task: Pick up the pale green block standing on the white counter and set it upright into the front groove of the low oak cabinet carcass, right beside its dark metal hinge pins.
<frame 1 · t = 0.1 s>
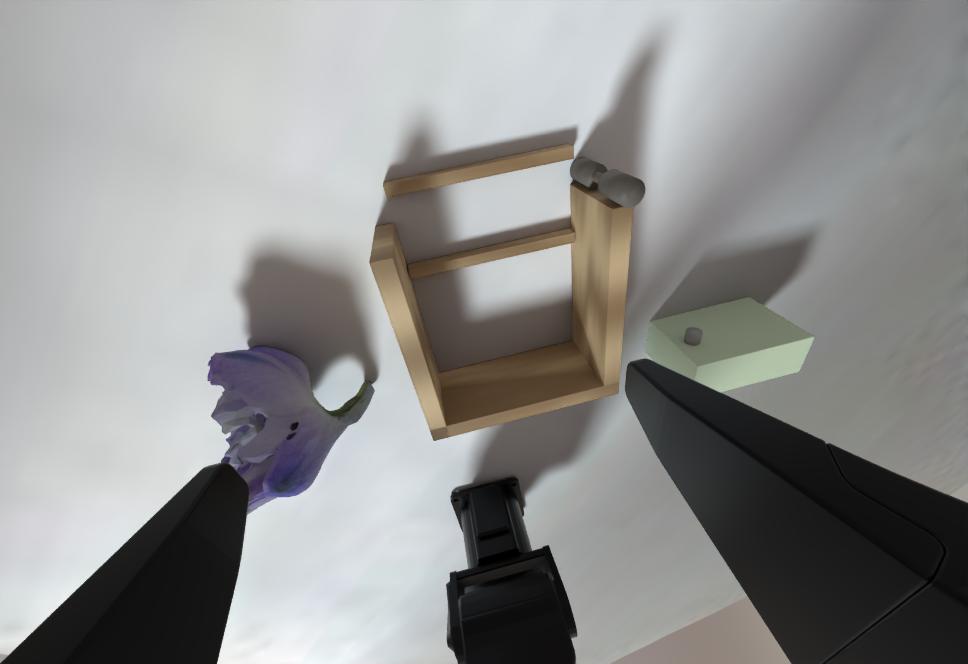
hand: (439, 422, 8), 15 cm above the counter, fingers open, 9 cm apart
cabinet: (484, 212, 21), on the counter
flower: (299, 375, 25), on the counter
pale green block: (695, 324, 29), on the counter
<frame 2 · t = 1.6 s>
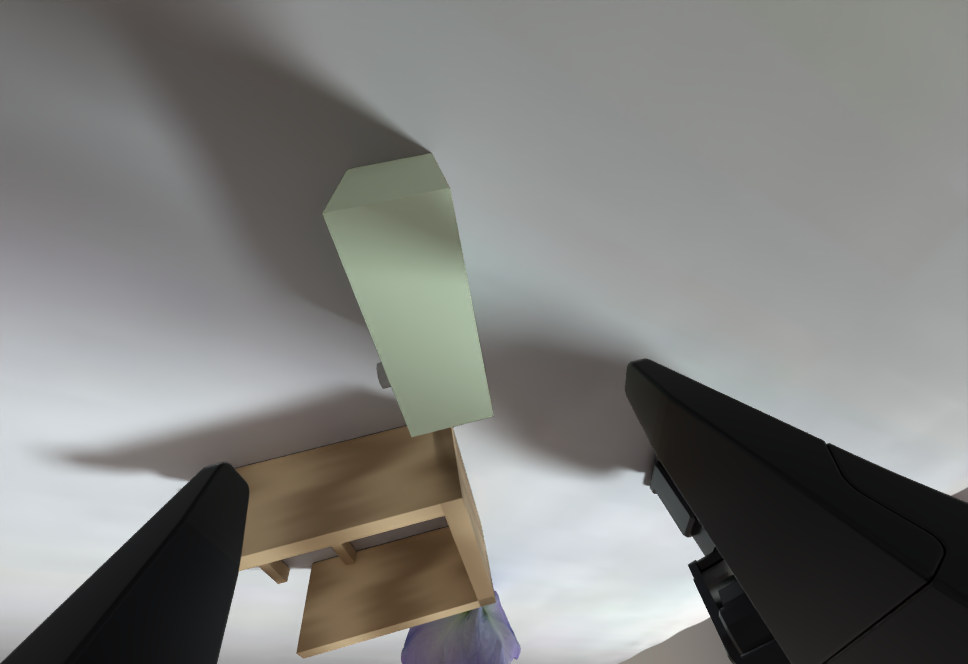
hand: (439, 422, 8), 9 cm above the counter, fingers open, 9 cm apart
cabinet: (287, 525, 23), on the counter
flower: (456, 574, 31), on the counter
pale green block: (417, 263, 15), on the counter
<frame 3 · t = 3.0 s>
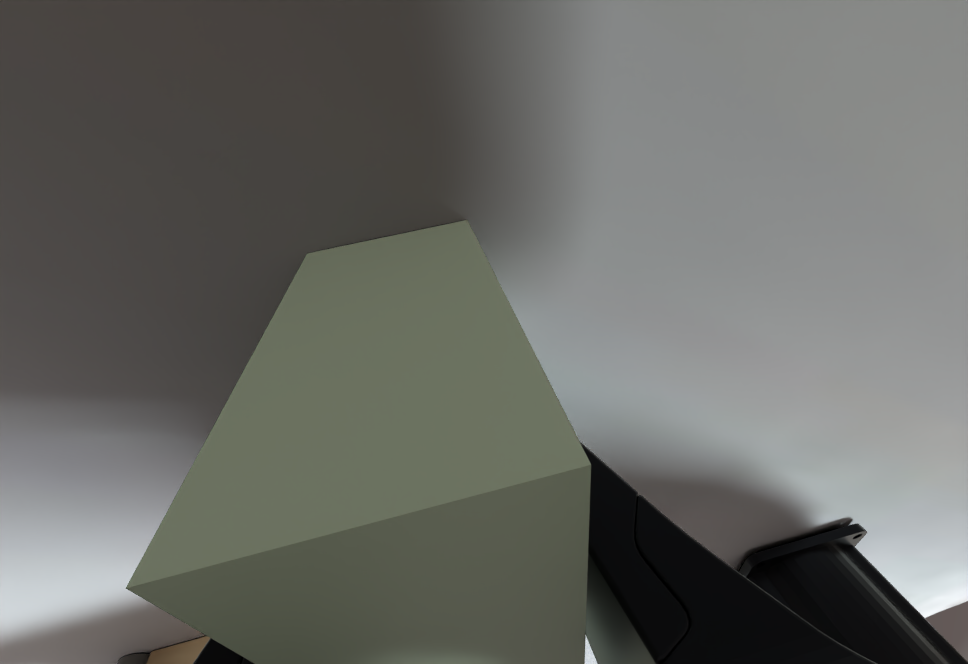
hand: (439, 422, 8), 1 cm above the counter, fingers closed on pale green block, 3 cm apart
pale green block: (435, 390, 9), on the counter, touching gripper
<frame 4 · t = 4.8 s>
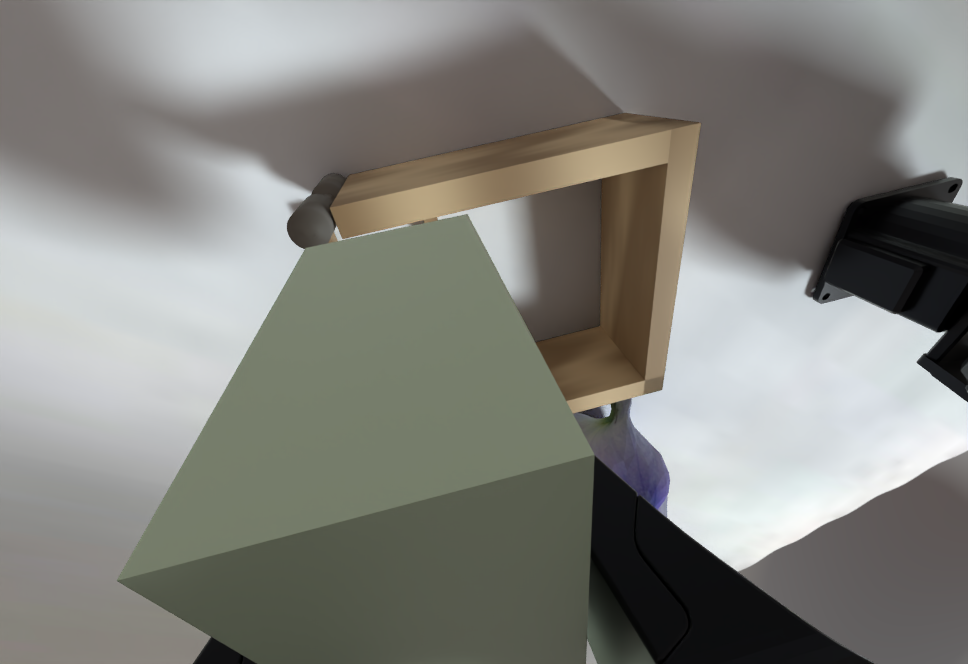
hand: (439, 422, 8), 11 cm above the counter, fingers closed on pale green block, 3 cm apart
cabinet: (403, 296, 19), on the counter
flower: (575, 407, 26), on the counter
pale green block: (435, 387, 9), point 10 cm above the counter, touching gripper
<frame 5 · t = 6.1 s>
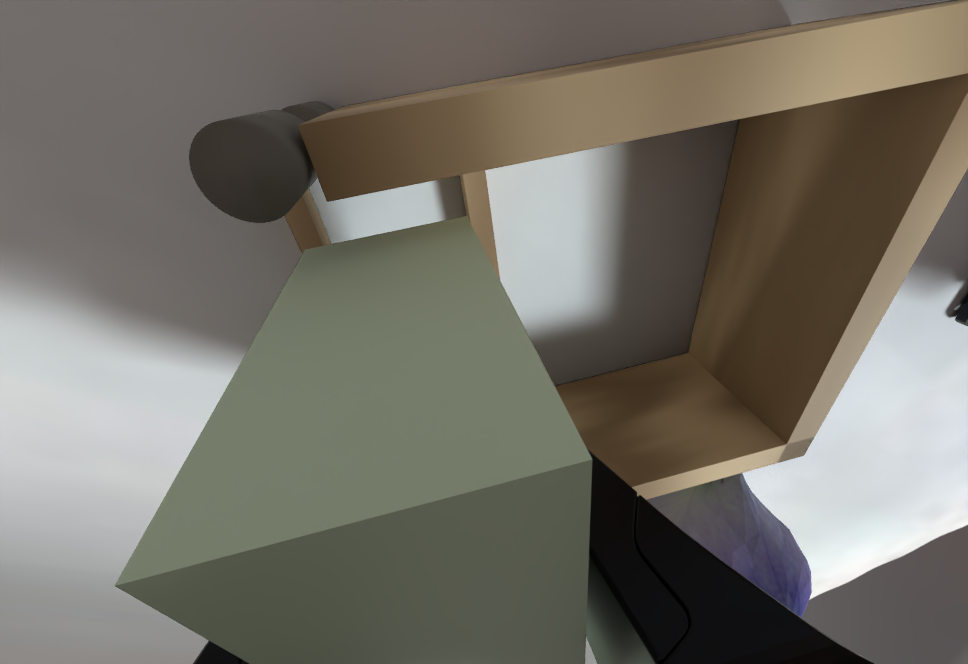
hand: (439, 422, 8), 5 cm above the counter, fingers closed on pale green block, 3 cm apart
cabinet: (422, 310, 12), on the counter
flower: (640, 446, 20), on the counter
pale green block: (435, 388, 9), point 4 cm above the counter, touching gripper
when the fingers open (2 cm above the counter, at t = 6.8 s): pale green block drops 2 cm, resting in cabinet.
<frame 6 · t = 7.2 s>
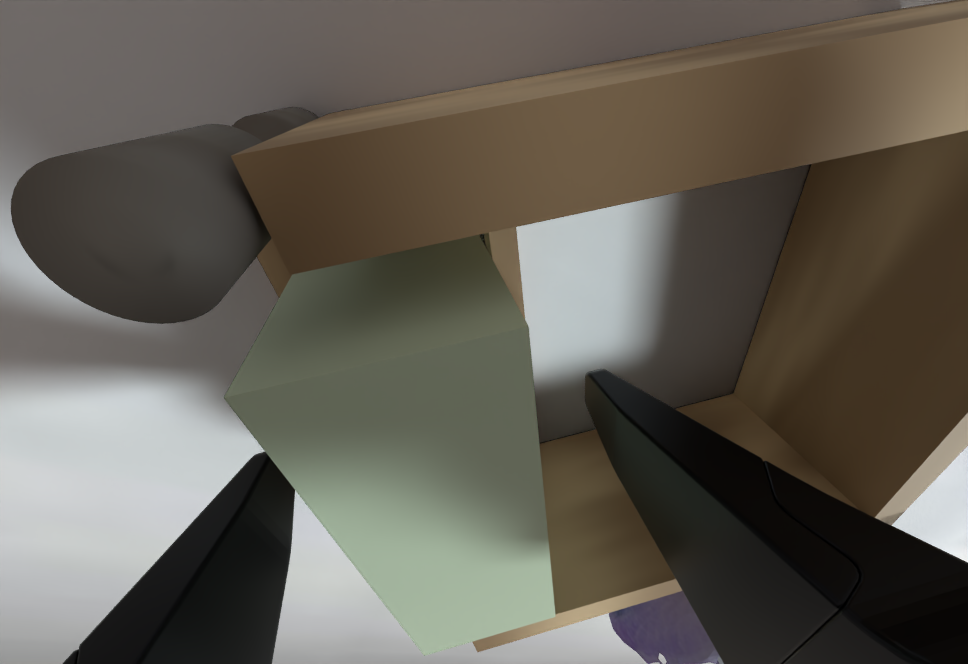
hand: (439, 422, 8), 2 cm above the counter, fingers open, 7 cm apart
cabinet: (430, 356, 10), on the counter
flower: (675, 482, 17), on the counter
pale green block: (431, 350, 10), resting in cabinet
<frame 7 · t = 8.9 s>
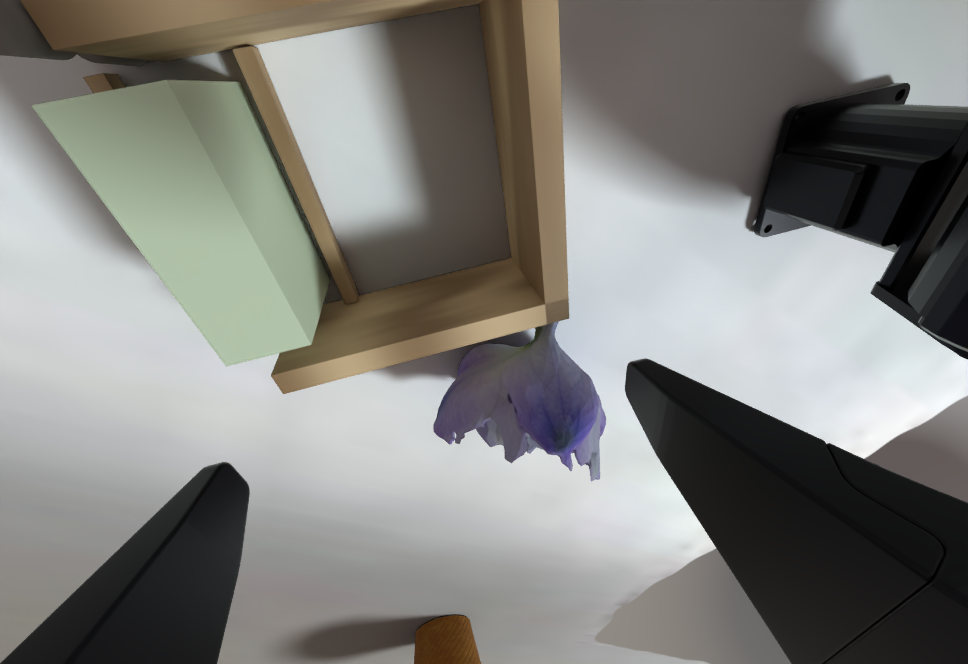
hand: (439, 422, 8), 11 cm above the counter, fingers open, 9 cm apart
disposable coffee cup: (442, 625, 43), on the counter
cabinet: (254, 207, 15), on the counter
flower: (504, 342, 22), on the counter
pale green block: (256, 203, 15), resting in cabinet
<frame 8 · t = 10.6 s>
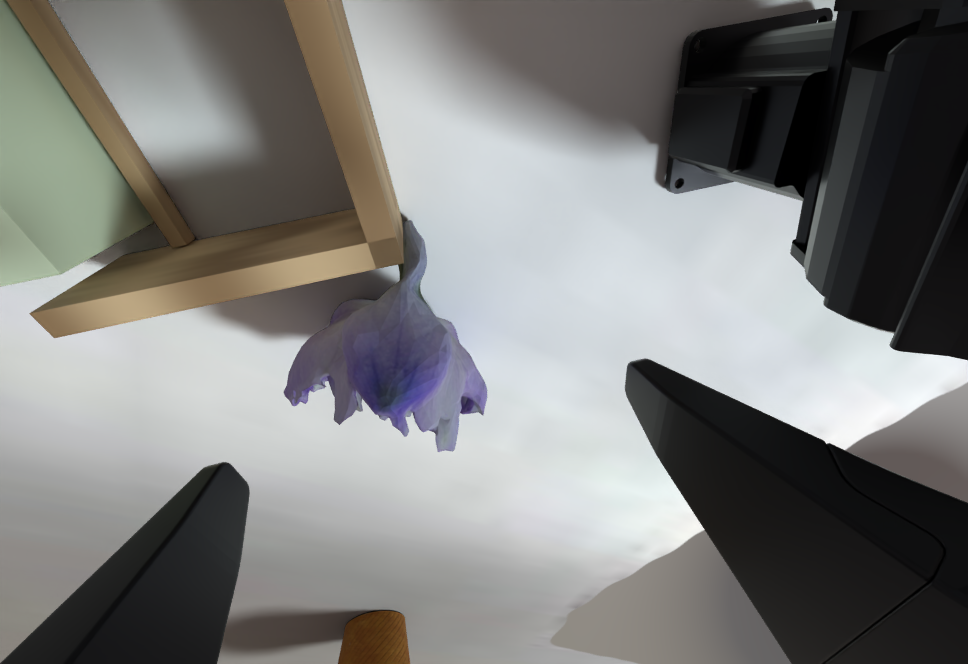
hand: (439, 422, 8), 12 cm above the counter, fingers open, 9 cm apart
disposable coffee cup: (375, 621, 41), on the counter
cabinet: (39, 122, 13), on the counter
flower: (391, 302, 20), on the counter
pale green block: (42, 119, 13), resting in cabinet
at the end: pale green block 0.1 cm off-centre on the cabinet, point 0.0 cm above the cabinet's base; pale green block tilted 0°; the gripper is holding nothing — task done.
